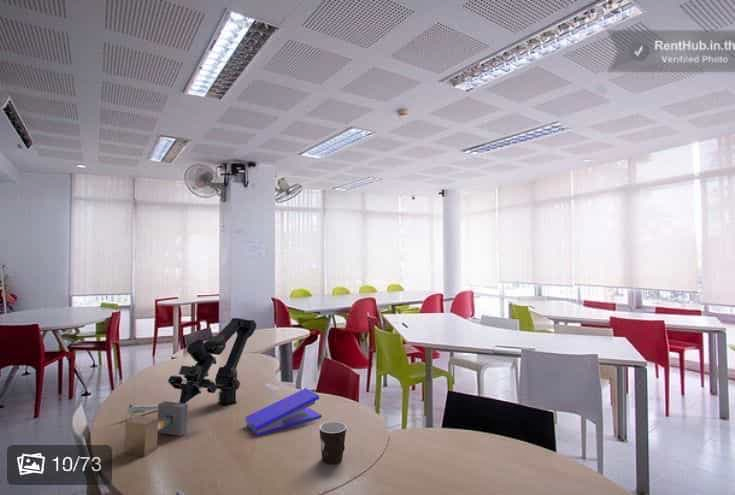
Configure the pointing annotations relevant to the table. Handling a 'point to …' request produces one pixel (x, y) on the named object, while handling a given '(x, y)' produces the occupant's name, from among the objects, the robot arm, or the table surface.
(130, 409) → the caliper
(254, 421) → the stapler
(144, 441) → the tan rectangular block
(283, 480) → the table surface
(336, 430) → the dark brown cup
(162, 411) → the gray concrete brick
